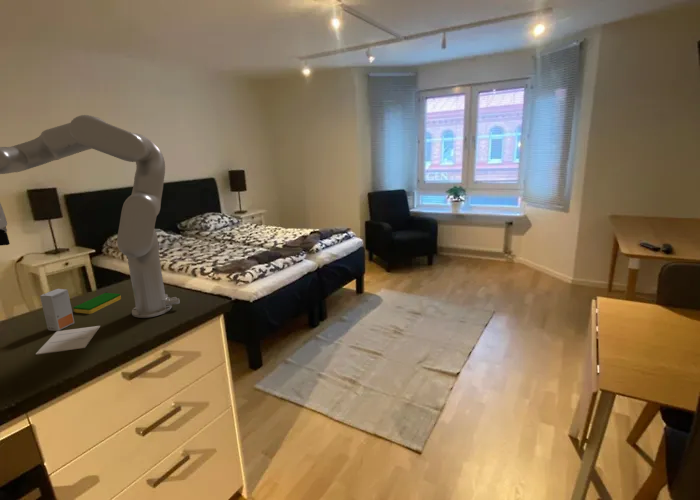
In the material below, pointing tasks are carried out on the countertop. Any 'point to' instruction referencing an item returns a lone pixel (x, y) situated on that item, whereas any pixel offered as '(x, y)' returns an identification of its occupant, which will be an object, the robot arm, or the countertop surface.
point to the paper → (69, 340)
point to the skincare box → (57, 309)
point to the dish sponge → (97, 303)
